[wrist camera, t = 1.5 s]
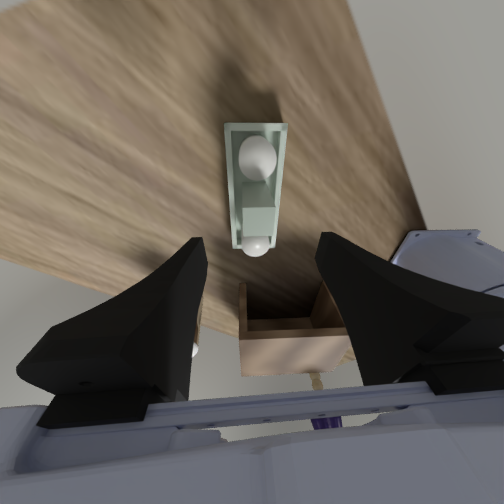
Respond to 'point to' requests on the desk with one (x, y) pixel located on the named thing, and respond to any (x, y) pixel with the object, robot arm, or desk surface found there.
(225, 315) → the desk surface
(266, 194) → the caddy
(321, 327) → the brown open box
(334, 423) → the toy lamp
